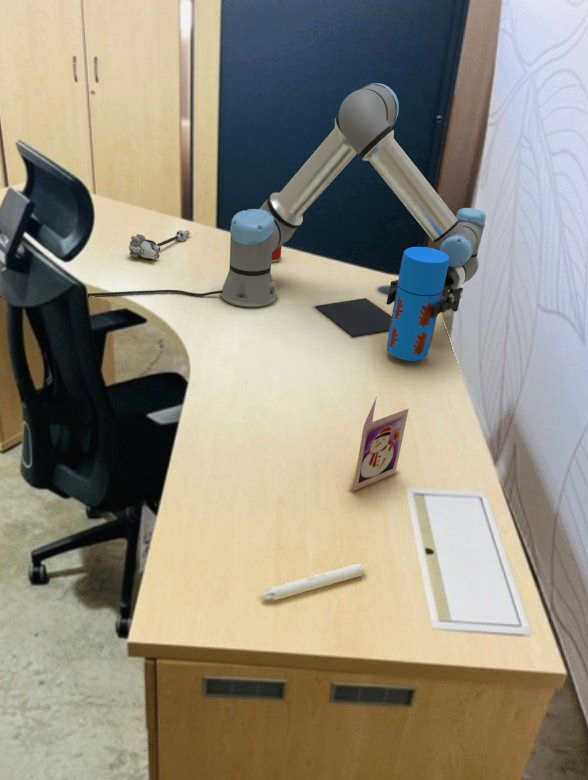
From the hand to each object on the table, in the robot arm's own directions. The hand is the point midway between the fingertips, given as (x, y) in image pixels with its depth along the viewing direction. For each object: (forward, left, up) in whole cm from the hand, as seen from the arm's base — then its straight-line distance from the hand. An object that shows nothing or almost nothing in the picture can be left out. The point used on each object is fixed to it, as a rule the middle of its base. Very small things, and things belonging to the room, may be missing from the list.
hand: (410, 306), depth 180 cm
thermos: (+3, +2, -14) cm, 14 cm away
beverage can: (+1, +74, -16) cm, 76 cm away
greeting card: (-35, -37, -16) cm, 53 cm away
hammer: (-28, +93, -16) cm, 98 cm away
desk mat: (+5, +27, -15) cm, 31 cm away
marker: (-60, -60, -16) cm, 86 cm away
